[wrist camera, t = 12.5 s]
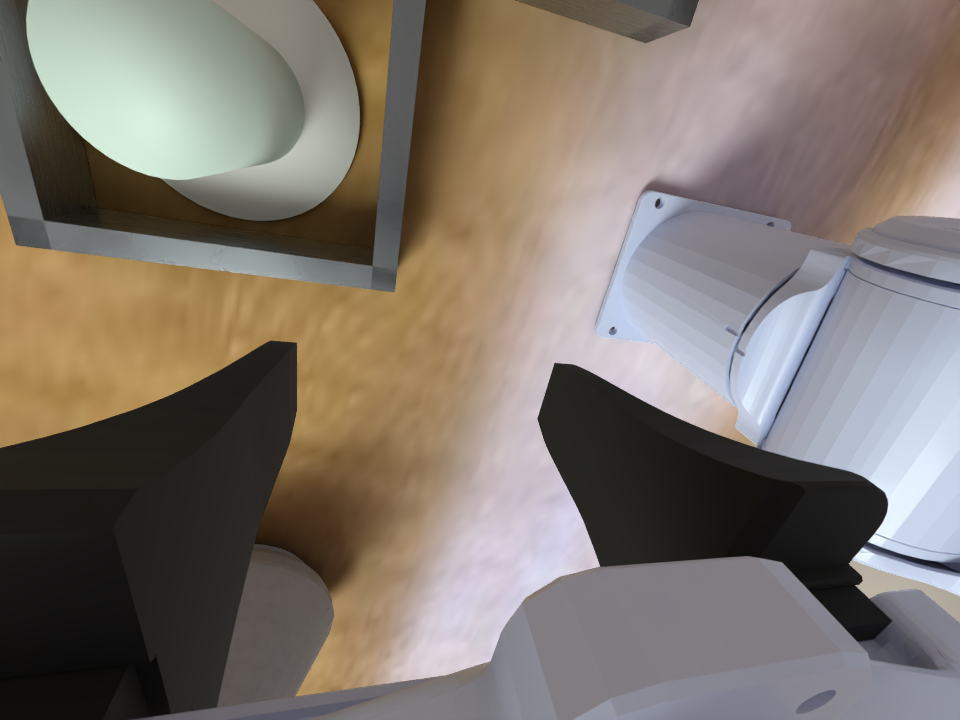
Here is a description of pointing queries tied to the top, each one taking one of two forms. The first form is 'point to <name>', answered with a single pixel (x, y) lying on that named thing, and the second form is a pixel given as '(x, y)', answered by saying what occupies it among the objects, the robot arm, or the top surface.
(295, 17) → the end pad
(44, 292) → the top surface
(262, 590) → the coffee pot
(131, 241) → the grey notched frame
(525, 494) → the top surface
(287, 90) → the peg
